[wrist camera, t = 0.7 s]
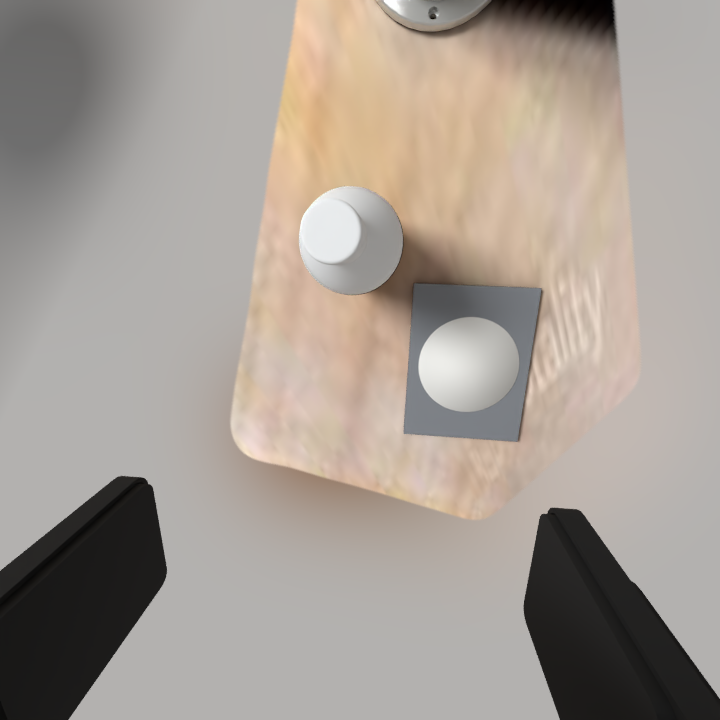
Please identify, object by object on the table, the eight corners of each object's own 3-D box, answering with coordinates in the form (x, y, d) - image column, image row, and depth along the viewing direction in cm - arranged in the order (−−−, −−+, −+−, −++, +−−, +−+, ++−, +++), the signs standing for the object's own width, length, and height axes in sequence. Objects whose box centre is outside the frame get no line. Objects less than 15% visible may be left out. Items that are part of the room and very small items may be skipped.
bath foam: (397, 287, 36) (401, 312, 17) (329, 284, 37) (258, 304, 18) (403, 213, 35) (414, 147, 15) (330, 211, 35) (253, 144, 16)
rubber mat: (413, 283, 36) (414, 283, 35) (539, 288, 35) (541, 288, 34) (403, 431, 40) (403, 434, 39) (515, 439, 39) (517, 442, 38)
